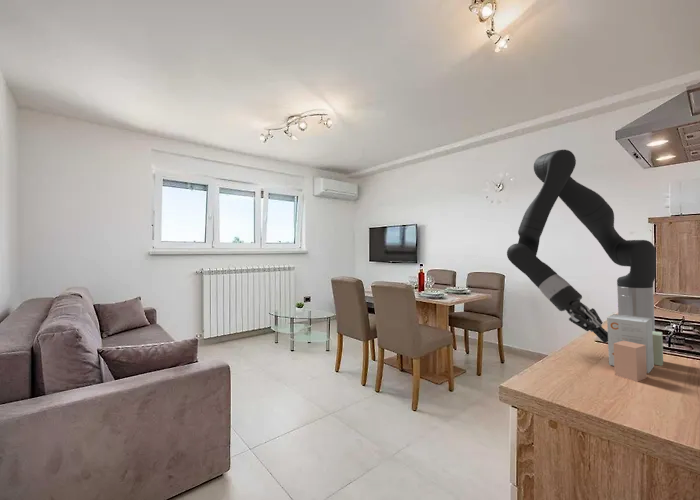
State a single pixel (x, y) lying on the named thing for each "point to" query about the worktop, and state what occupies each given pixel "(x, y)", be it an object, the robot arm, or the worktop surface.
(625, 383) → the worktop surface
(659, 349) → the sage block
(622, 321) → the small box
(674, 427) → the worktop surface
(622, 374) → the terracotta block
